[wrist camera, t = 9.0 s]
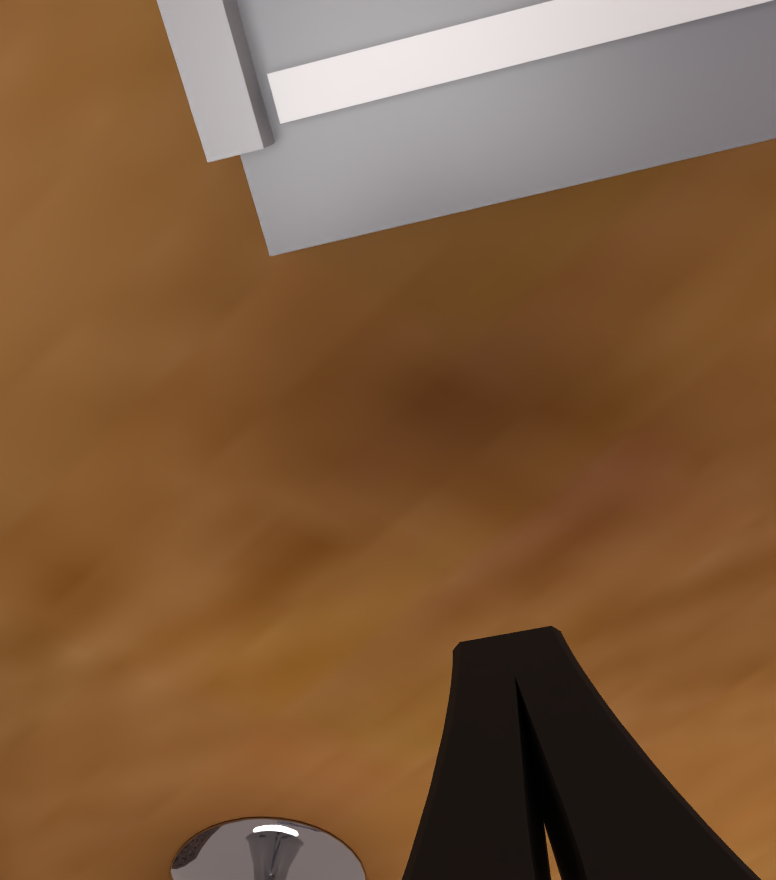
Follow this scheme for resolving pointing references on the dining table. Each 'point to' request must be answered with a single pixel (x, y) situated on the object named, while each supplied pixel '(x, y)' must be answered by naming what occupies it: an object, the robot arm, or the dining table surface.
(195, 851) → the wine glass
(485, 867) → the robot arm
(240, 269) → the dining table surface
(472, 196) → the grey flat railed block
